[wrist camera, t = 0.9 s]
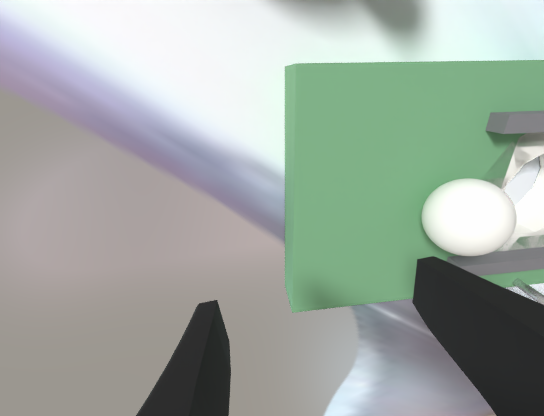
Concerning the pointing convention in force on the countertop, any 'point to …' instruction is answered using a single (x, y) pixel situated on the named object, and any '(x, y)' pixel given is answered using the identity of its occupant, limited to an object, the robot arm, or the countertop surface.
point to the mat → (402, 171)
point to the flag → (529, 290)
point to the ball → (469, 217)
